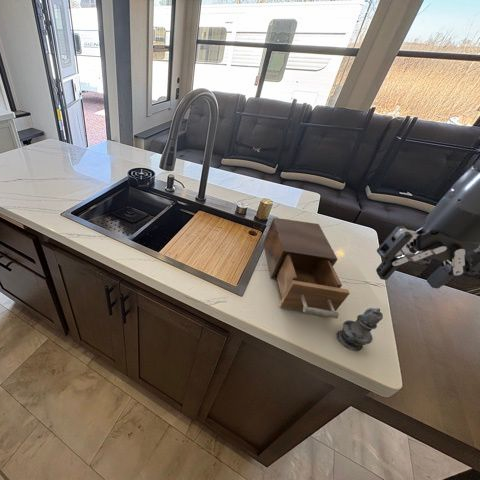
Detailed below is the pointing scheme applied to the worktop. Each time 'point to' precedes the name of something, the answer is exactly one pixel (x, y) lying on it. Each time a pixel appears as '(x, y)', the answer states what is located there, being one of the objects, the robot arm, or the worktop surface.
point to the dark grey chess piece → (359, 329)
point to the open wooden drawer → (310, 285)
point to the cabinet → (295, 242)
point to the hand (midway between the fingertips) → (406, 280)
